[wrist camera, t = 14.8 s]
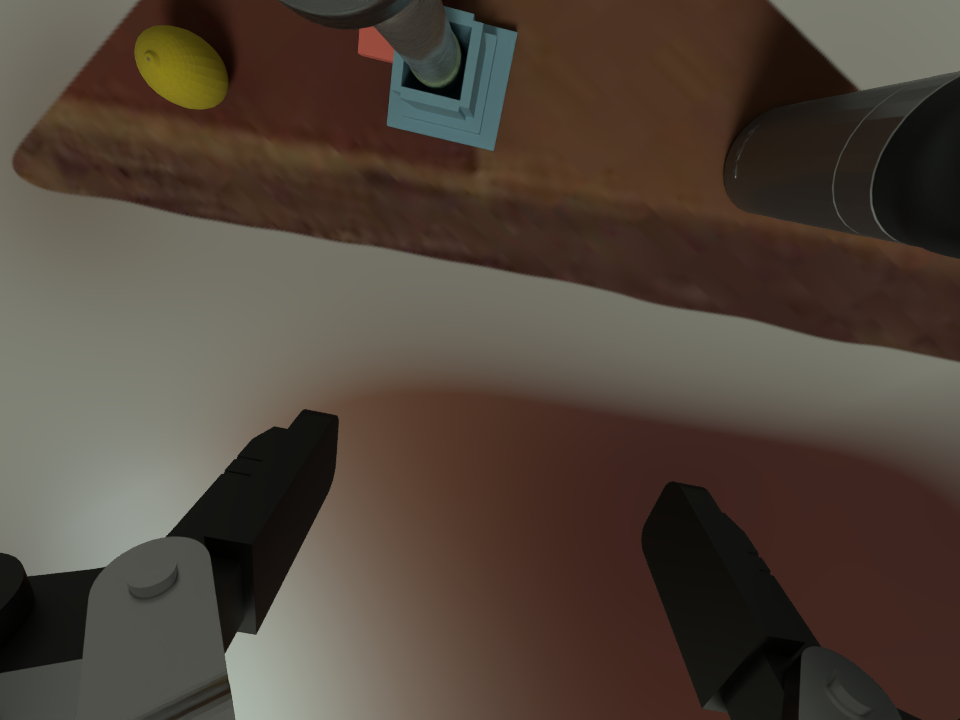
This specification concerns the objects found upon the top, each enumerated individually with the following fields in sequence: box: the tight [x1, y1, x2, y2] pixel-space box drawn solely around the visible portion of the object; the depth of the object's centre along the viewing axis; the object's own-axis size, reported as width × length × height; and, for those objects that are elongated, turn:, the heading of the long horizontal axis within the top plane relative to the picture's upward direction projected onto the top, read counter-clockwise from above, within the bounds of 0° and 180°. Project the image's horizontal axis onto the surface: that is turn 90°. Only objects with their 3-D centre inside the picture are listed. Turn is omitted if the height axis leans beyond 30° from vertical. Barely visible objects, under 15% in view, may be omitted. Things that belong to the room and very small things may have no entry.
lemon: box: [135, 25, 229, 109], centre depth 34 cm, size 6×6×8 cm
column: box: [278, 0, 463, 93], centre depth 20 cm, size 6×6×24 cm
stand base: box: [358, 6, 517, 151], centre depth 32 cm, size 10×9×10 cm
